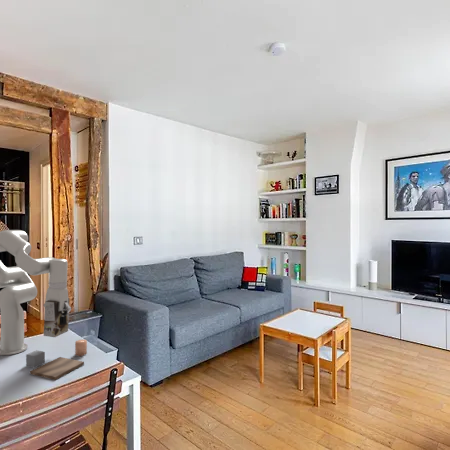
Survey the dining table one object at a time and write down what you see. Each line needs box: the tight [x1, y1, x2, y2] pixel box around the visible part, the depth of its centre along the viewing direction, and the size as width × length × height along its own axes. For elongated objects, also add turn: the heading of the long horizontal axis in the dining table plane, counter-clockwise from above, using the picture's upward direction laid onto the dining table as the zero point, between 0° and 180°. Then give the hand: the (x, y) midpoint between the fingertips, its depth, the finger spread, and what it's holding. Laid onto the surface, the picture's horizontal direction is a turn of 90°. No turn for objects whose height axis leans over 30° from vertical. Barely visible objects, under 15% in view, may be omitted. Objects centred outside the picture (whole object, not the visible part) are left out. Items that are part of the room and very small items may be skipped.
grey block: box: [25, 349, 46, 369], centre depth 141 cm, size 5×5×5 cm
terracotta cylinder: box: [74, 339, 88, 357], centre depth 153 cm, size 5×5×6 cm
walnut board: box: [29, 356, 85, 381], centre depth 137 cm, size 14×15×1 cm
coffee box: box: [43, 297, 70, 338], centre depth 150 cm, size 9×6×16 cm
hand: (56, 322), depth 150 cm, fingers closed on coffee box, 7 cm apart
